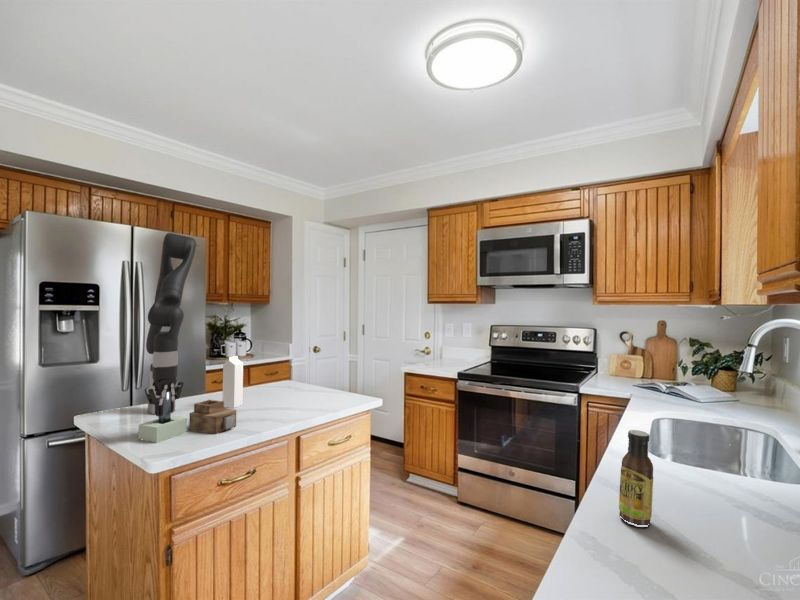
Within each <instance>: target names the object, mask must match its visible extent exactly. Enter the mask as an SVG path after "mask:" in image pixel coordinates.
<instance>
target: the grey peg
mask: <svg viewBox="0 0 800 600" xmlns="http://www.w3.org/2000/svg"><path fill="white" fill-rule="evenodd" d="M159 396H161V395H160V394H159ZM162 405H163V413H162V416H158V419H159V420H158V423H159V424H165V423H168V422H171V416H172V413H171V391H168V392H166V394H165V398H164V399H163V402H162Z"/></svg>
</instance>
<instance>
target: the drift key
mask: <svg viewBox="0 0 800 600" xmlns="http://www.w3.org/2000/svg"><path fill="white" fill-rule="evenodd" d="M233 426H235V415H230V416H225V417H223V429H227V430H229V429H228V428H230V429H232V428H234V427H233ZM231 427H232V428H231ZM235 427H236V426H235Z"/></svg>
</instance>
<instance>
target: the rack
mask: <svg viewBox="0 0 800 600" xmlns="http://www.w3.org/2000/svg"><path fill="white" fill-rule="evenodd" d="M158 420H159V418H157V419H153V420H150V421H147V422H143V423H140V424H138V440H139V439H143V440H147V441H146V442H148V441H152V442H151V443H154V442H158V443H161V442H163V441H165V439H166V440H169V439H171V437H172V438H174V437H177V436H180V435H182V434H186V433H188V418H187V417H185V416H184V417H182V416H177V415H171V422H168V423H165V424H159V423H158ZM168 438H169V439H168ZM143 440H142V441H143ZM162 440H163V441H162ZM160 441H161V442H160Z"/></svg>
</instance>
